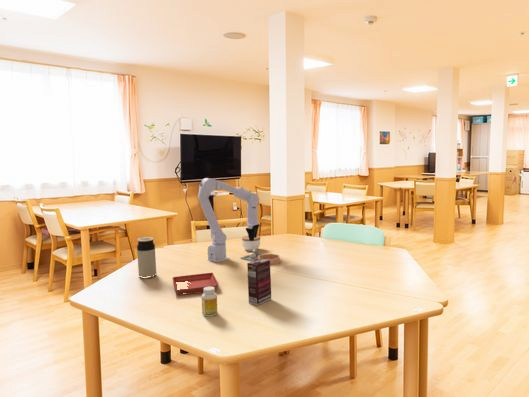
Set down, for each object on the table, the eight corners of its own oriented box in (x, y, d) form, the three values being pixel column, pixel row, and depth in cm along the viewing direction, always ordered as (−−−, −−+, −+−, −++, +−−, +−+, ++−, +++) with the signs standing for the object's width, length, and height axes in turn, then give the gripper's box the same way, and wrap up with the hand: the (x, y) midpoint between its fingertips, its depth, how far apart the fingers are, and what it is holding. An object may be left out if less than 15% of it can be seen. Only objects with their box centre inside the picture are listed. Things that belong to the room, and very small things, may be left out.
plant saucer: (174, 297, 162) (174, 289, 162) (172, 283, 179) (172, 276, 179) (219, 292, 167) (218, 284, 166) (213, 279, 184) (212, 272, 184)
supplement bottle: (199, 314, 144) (198, 288, 143) (211, 309, 148) (210, 284, 147) (208, 318, 140) (207, 291, 139) (220, 313, 144) (219, 287, 143)
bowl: (270, 266, 201) (269, 260, 200) (253, 262, 208) (253, 257, 207) (283, 261, 209) (283, 256, 208) (267, 258, 216) (267, 252, 216)
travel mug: (151, 279, 185) (149, 240, 183) (135, 278, 187) (133, 240, 184) (159, 274, 193) (157, 237, 191) (144, 273, 194) (141, 236, 192)
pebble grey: (252, 260, 210) (252, 254, 210) (247, 259, 213) (247, 252, 212) (257, 259, 213) (257, 252, 213) (252, 258, 215) (252, 251, 215)
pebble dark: (255, 257, 217) (255, 251, 216) (250, 256, 219) (250, 250, 218) (260, 256, 219) (260, 249, 219) (255, 255, 222) (255, 248, 221)
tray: (253, 262, 209) (252, 260, 209) (240, 259, 215) (240, 257, 215) (268, 257, 218) (268, 255, 218) (255, 254, 224) (255, 252, 224)
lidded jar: (239, 249, 237) (239, 233, 236) (256, 247, 241) (255, 231, 240) (246, 253, 227) (246, 237, 226) (263, 251, 231) (263, 235, 230)
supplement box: (262, 296, 160) (261, 257, 158) (271, 299, 157) (270, 259, 155) (247, 303, 153) (246, 262, 151) (257, 306, 150) (256, 264, 148)
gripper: (257, 216, 211) (257, 242, 213) (262, 212, 226) (262, 236, 227) (244, 216, 213) (244, 242, 214) (249, 212, 227) (250, 236, 228)
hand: (253, 239), depth 221 cm, fingers open, 7 cm apart
